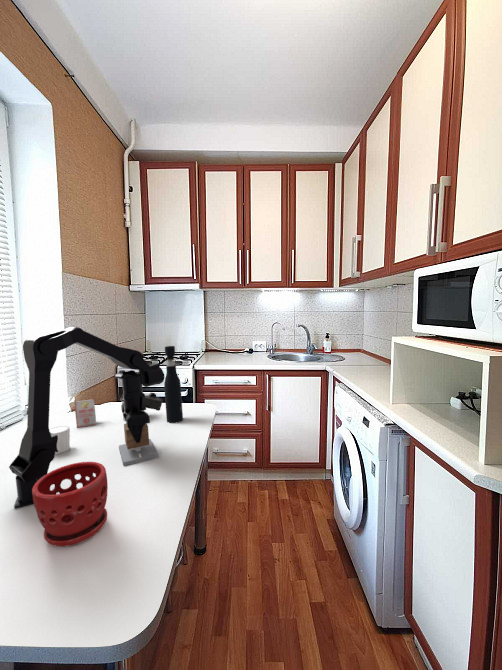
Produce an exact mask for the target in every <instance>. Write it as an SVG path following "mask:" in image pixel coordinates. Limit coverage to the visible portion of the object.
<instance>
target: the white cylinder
mask: <svg viewBox="0 0 502 670" xmlns="http://www.w3.org/2000/svg"><path fill="white" fill-rule="evenodd" d="M70 428H71V427H70V426H67V425H66V426H65V425H63V426H62V425H61V426H56V427H52V428H49V431H50V432H51V433H53V434H55V435H57V436H58V441H57V450H58V452H55V455H56V454H62V453H65V452H67V451H68V450H70V445H71V444H70V441H71V439H70V436H71V435H70V433H71V429H70Z"/></svg>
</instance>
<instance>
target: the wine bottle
mask: <svg viewBox="0 0 502 670" xmlns="http://www.w3.org/2000/svg"><path fill="white" fill-rule="evenodd" d="M175 348H176V347H175V345H167V346H164V356H166V360H167V361H166V368H165V369H166V373H165V374H166V375H165V377H164V382H163V383H164V386H163V387H164V389H163V390H164V400H165V401H164V402H165V413H166V414H165V415H166V422H167V423H168V422H169V423H170V424H176V422H177V423H180V422H182V421H183V420H184V417H183V416H184V414H183V400H182V387H181V381H180V378H179V375H178V372H177V365H176V361H175V359H174V358H175V357H174V356H175V355H176V349H175Z"/></svg>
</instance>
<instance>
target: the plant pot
mask: <svg viewBox="0 0 502 670" xmlns="http://www.w3.org/2000/svg"><path fill="white" fill-rule="evenodd" d="M94 474H95V476H94ZM77 475H80V478H79V479H77V478H75V477H76V476H77ZM87 477H88V478H89V479H86V478H87ZM65 480H69V481H70V483H71V484H70V485H69V487H67V488H62V482H64V481H65ZM78 484H82V486H81V487H79V488H78V486H77V485H78ZM52 486H54V487H53V489H52V490H51V487H52ZM108 487H109V486H108V475H107V471H106V467H105V465H103V464H102V463H100V462H95V461H81V462H75V463H74V462H73V463H71V464H66V465H63V466H61V467H58V468H56V469H54V470H52V471H50V472H48V473H47V474H46V475H44V476H43V477H42V478H40V479H39V480H38V481H37V482H36V483H35V484H34V486H33V488H32V495H33V502H34V503H33V505H34V509H35V511H36V515H37V518H38V522H39V523H40V525H41V527H43V537H44V540H45V542H46V543H48V544H49V545H50V546H54V547H61V548H62V547H70V546H75V545H78V544H81V543H83V542H85V541H87V540H88V539H90V538H92V537H94V536H95V535H96V534H97V533H98V532H100V530H101V529H102V528H103V527H104V526H105V524H106V522H107V520H108V510H107V509H106V508H105V507H106V504H107V500H108V490H109V489H108ZM43 493H44V494H43Z"/></svg>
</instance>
